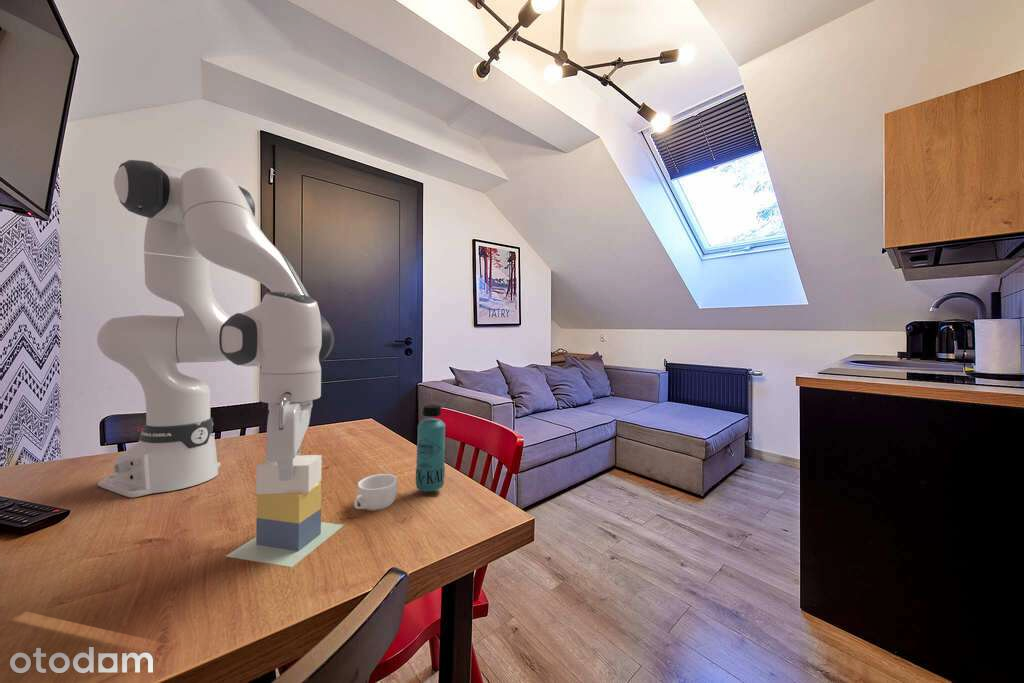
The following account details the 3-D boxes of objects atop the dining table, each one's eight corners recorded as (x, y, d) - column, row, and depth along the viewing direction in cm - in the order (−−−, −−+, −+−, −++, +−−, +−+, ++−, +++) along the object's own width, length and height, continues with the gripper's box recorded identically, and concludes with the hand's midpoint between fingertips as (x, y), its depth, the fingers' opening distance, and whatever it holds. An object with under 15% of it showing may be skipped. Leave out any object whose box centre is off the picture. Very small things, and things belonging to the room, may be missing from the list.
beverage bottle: (417, 486, 84) (419, 402, 83) (446, 485, 84) (447, 402, 84) (412, 498, 77) (414, 408, 77) (443, 498, 78) (445, 408, 77)
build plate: (225, 561, 55) (225, 556, 55) (287, 521, 67) (287, 517, 67) (291, 572, 53) (292, 567, 53) (343, 529, 65) (343, 524, 65)
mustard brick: (256, 517, 58) (256, 490, 58) (281, 503, 63) (281, 478, 63) (298, 523, 57) (299, 495, 56) (321, 508, 61) (321, 483, 61)
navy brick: (256, 544, 58) (256, 517, 58) (281, 528, 63) (281, 503, 63) (298, 551, 57) (298, 523, 57) (320, 534, 62) (321, 508, 61)
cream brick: (255, 494, 57) (256, 466, 57) (273, 481, 62) (273, 455, 62) (308, 492, 58) (308, 465, 58) (321, 480, 63) (321, 455, 63)
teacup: (376, 495, 78) (377, 471, 78) (404, 502, 76) (405, 477, 75) (339, 516, 69) (340, 489, 69) (369, 525, 66) (370, 497, 66)
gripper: (306, 398, 51) (304, 492, 52) (317, 380, 70) (316, 449, 70) (253, 400, 49) (252, 499, 49) (279, 381, 67) (278, 453, 67)
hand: (290, 469), depth 60 cm, fingers open, 7 cm apart
